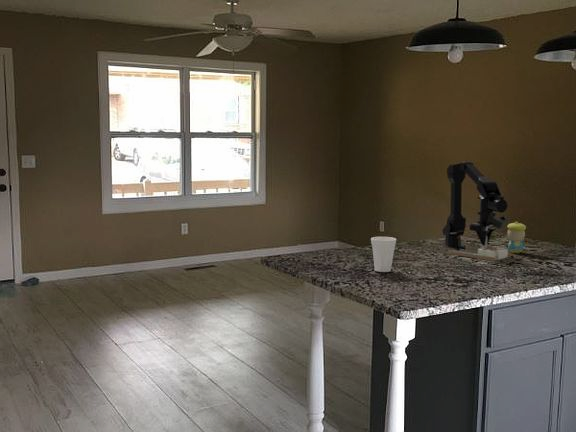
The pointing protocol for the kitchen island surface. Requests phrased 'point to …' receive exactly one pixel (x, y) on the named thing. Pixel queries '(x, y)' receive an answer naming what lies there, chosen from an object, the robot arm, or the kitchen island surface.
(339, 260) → the kitchen island surface
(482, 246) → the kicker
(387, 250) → the cup
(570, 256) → the kitchen island surface
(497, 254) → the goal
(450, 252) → the pitch
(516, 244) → the toy
